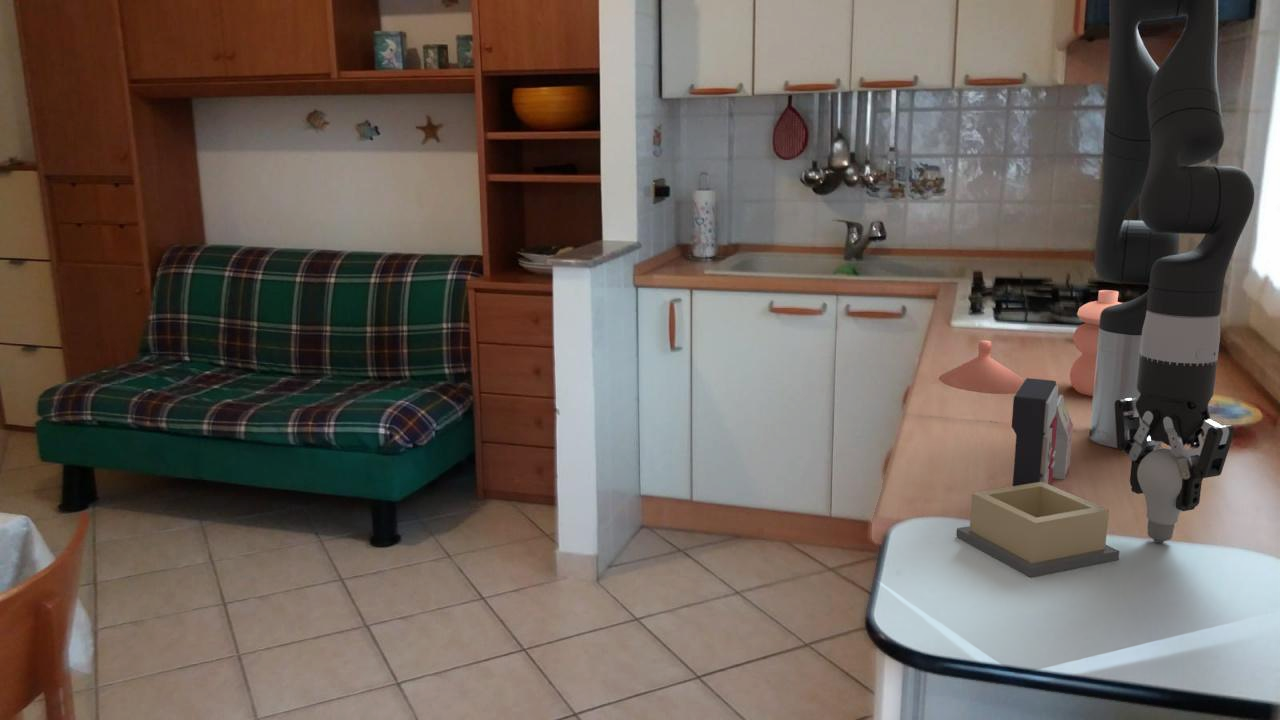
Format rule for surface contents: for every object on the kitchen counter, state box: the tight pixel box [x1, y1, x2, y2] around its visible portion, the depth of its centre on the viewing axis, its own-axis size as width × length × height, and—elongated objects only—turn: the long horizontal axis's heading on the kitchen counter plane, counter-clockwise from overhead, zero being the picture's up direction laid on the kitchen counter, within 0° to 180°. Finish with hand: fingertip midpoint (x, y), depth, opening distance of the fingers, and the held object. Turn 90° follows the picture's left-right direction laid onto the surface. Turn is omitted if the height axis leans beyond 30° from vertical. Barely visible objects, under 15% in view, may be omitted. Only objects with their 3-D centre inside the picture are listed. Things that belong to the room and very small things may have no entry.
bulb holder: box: [955, 482, 1120, 578], centre depth 114 cm, size 12×12×6 cm
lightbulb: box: [1137, 447, 1193, 544], centre depth 114 cm, size 6×6×11 cm
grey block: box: [1053, 394, 1074, 480], centre depth 139 cm, size 4×7×10 cm, turn 152°
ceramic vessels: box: [938, 289, 1123, 397], centre depth 180 cm, size 35×21×19 cm, turn 73°
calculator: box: [1011, 377, 1059, 486], centre depth 126 cm, size 11×4×15 cm, turn 152°
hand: (1162, 499), depth 114 cm, fingers closed on lightbulb, 5 cm apart
